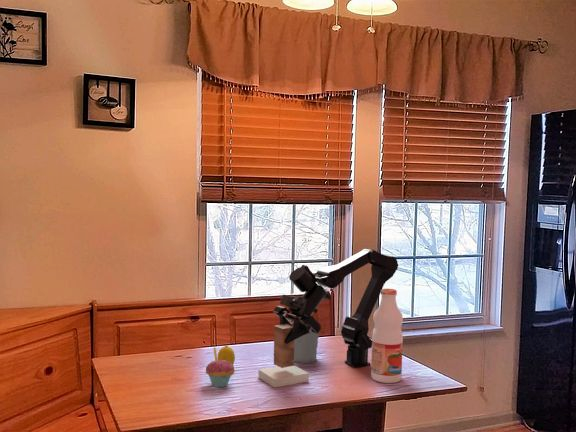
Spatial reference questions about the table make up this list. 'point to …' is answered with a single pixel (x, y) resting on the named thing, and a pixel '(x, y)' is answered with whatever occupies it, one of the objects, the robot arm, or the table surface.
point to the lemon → (226, 354)
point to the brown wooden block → (283, 346)
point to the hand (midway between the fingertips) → (280, 341)
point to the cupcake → (219, 371)
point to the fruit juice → (387, 340)
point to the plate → (283, 375)
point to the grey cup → (306, 347)
